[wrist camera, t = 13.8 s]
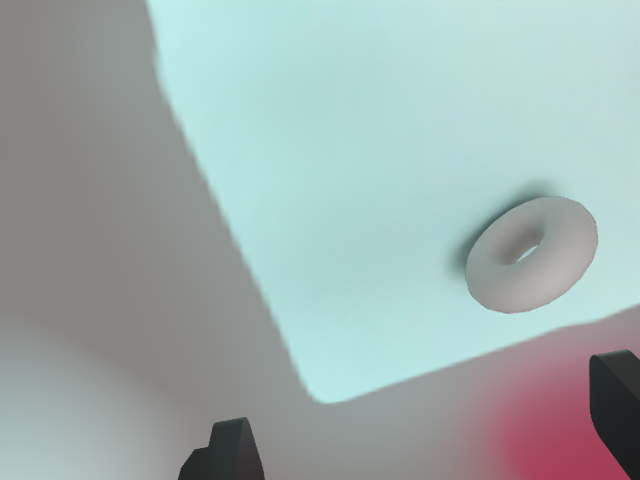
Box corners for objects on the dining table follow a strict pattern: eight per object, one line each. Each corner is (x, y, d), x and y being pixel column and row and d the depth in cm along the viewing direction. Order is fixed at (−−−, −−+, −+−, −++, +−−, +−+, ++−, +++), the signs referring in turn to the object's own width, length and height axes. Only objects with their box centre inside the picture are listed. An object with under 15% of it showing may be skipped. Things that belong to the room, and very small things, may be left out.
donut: (467, 283, 45) (511, 348, 36) (441, 256, 44) (479, 316, 35) (565, 202, 43) (639, 249, 33) (540, 172, 42) (609, 212, 32)
